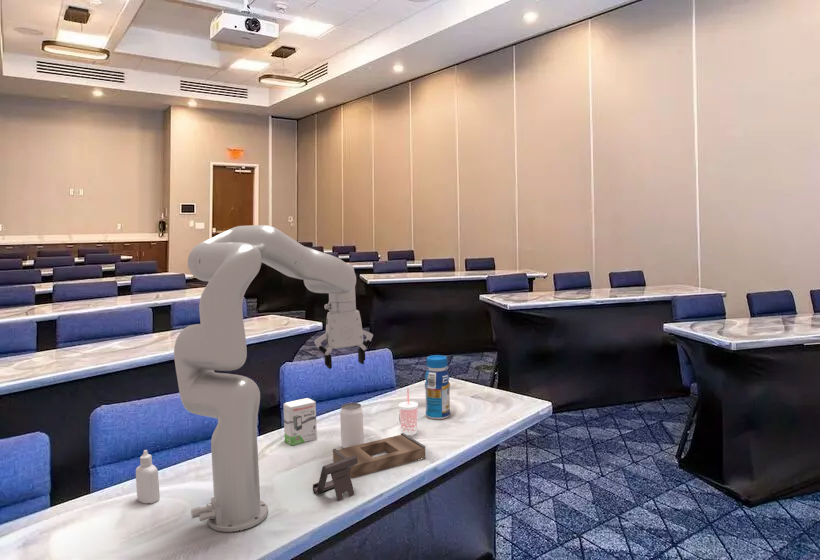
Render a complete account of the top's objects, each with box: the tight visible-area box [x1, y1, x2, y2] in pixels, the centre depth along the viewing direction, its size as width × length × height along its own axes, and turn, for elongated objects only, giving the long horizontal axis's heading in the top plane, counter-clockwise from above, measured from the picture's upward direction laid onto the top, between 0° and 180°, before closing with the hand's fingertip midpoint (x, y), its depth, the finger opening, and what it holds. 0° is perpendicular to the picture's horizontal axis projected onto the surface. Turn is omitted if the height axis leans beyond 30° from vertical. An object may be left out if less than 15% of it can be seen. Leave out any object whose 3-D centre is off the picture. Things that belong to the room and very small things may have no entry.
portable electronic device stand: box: [312, 455, 358, 502], centre depth 130 cm, size 9×8×8 cm
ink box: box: [283, 397, 318, 446], centre depth 164 cm, size 9×5×12 cm, turn 127°
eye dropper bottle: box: [135, 449, 161, 504], centre depth 128 cm, size 4×6×12 cm
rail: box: [332, 433, 426, 479], centre depth 149 cm, size 22×12×3 cm, turn 120°
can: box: [339, 402, 365, 449], centre depth 158 cm, size 6×6×12 cm
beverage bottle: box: [424, 354, 451, 420], centre depth 183 cm, size 8×8×20 cm
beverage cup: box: [397, 387, 419, 436], centre depth 168 cm, size 6×6×14 cm
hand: (345, 365), depth 158 cm, fingers open, 9 cm apart
